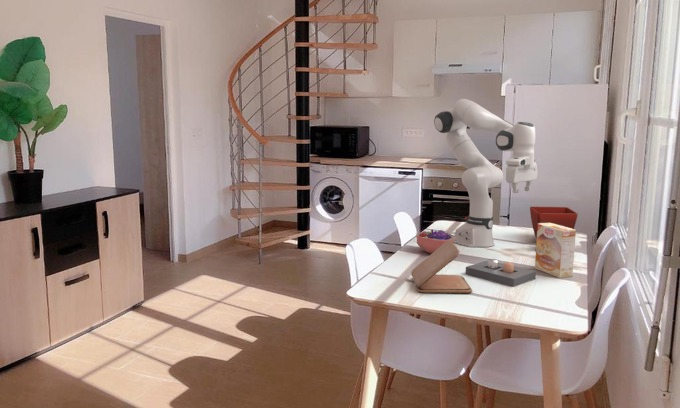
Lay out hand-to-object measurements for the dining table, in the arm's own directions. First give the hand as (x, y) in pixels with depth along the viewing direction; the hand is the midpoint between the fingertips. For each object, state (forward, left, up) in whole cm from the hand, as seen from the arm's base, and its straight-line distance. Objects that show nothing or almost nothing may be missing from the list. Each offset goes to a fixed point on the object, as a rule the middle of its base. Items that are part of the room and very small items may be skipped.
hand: (521, 191), depth 241 cm
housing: (+8, -26, -31) cm, 41 cm away
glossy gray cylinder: (+4, -26, -31) cm, 41 cm away
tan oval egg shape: (+11, -26, -31) cm, 42 cm away
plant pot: (-9, +47, -31) cm, 57 cm away
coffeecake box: (+19, -4, -31) cm, 37 cm away
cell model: (-34, -16, -31) cm, 49 cm away
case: (0, -54, -32) cm, 62 cm away
